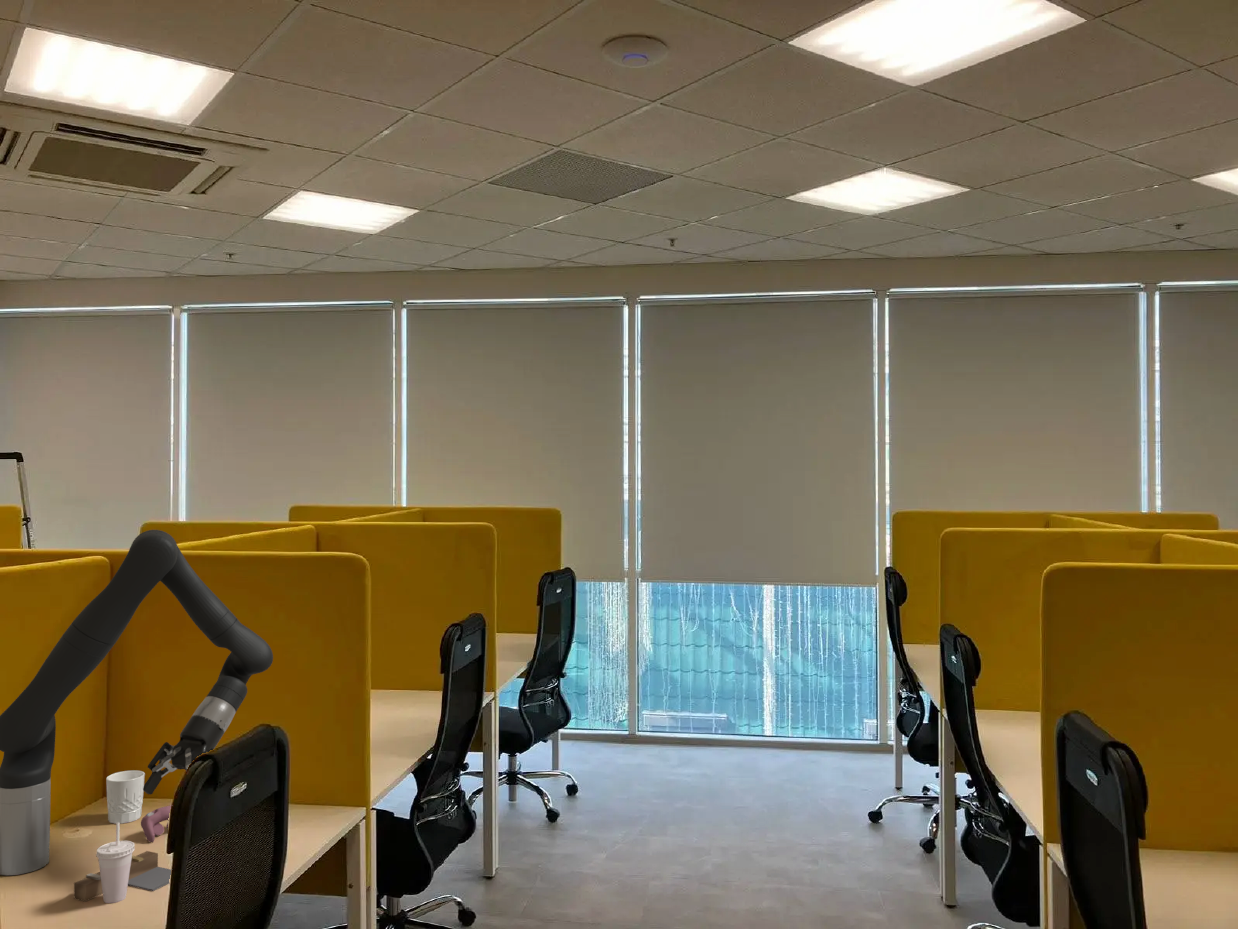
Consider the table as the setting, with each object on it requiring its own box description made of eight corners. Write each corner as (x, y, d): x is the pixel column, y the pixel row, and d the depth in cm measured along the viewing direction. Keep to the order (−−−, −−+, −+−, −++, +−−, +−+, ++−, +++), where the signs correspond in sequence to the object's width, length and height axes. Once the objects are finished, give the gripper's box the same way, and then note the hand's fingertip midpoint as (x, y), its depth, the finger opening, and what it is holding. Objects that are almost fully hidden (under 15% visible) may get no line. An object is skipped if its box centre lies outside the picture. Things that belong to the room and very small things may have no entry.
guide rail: (73, 898, 170) (73, 880, 170) (146, 865, 185) (146, 849, 185) (85, 901, 169) (85, 883, 169) (157, 868, 184) (158, 851, 184)
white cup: (110, 814, 214) (110, 772, 214) (147, 811, 216) (147, 769, 216) (101, 826, 206) (102, 782, 206) (140, 823, 208) (140, 779, 209)
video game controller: (186, 834, 206) (180, 803, 208) (195, 829, 204) (189, 798, 206) (141, 847, 198) (136, 815, 201) (150, 842, 196) (144, 810, 198)
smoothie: (141, 892, 173) (142, 818, 174) (119, 907, 167) (121, 831, 167) (110, 890, 174) (111, 817, 174) (87, 905, 168) (88, 829, 168)
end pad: (122, 884, 177) (122, 882, 177) (157, 868, 184) (157, 866, 184) (152, 891, 174) (152, 889, 174) (186, 874, 181) (187, 873, 181)
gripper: (173, 710, 192) (125, 781, 181) (224, 717, 186) (178, 791, 175) (193, 729, 196) (147, 799, 186) (243, 736, 191) (199, 809, 180)
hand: (162, 795), depth 180 cm, fingers open, 8 cm apart
